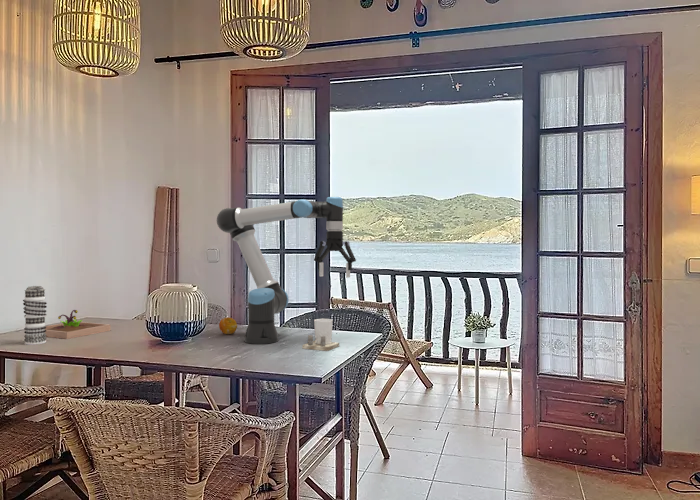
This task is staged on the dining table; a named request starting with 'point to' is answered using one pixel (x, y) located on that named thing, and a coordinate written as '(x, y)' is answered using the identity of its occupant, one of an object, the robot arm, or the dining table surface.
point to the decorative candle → (35, 315)
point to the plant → (70, 324)
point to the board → (314, 346)
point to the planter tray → (66, 335)
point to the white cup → (323, 330)
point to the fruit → (228, 325)
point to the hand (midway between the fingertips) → (334, 277)
